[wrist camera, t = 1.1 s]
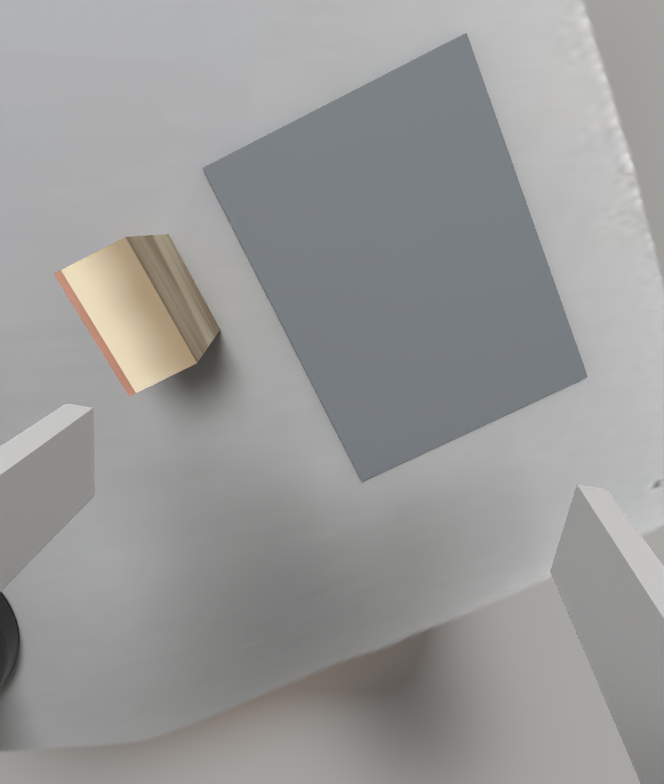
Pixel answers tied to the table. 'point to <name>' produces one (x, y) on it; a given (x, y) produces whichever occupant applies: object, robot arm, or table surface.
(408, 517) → the table surface
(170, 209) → the table surface
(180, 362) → the face block
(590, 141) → the table surface
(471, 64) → the mat
